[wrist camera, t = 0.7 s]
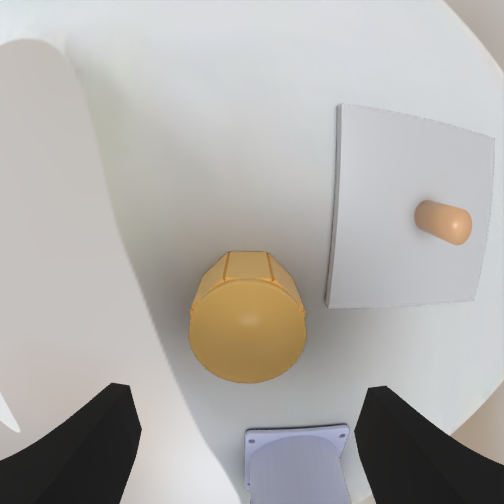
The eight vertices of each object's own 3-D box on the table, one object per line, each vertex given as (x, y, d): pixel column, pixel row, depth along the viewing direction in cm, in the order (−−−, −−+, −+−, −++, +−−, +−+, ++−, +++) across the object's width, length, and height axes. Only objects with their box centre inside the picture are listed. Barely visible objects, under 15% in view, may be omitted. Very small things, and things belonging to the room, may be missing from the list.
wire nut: (288, 333, 18) (300, 382, 14) (204, 332, 18) (193, 381, 13) (294, 252, 17) (311, 284, 12) (201, 250, 17) (185, 282, 12)
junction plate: (467, 296, 18) (501, 320, 14) (325, 302, 18) (344, 338, 14) (487, 138, 15) (527, 138, 11) (337, 106, 15) (363, 89, 11)
